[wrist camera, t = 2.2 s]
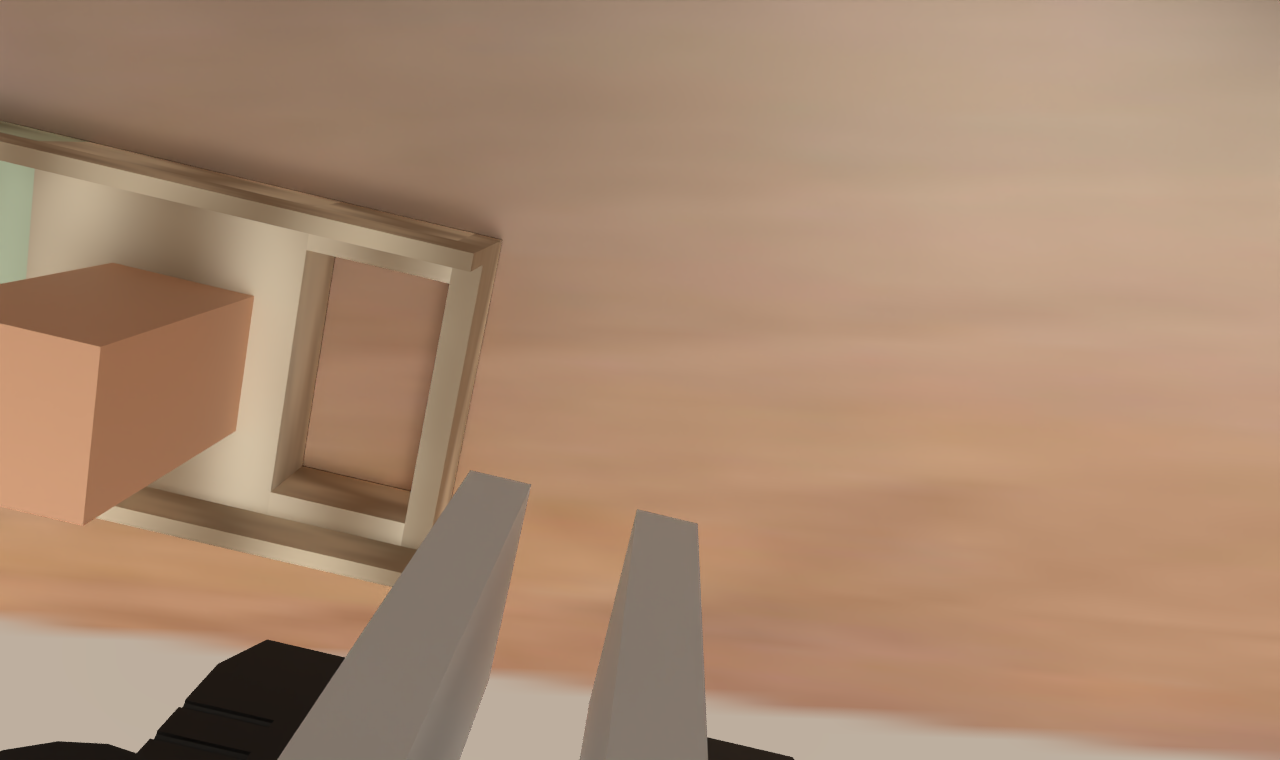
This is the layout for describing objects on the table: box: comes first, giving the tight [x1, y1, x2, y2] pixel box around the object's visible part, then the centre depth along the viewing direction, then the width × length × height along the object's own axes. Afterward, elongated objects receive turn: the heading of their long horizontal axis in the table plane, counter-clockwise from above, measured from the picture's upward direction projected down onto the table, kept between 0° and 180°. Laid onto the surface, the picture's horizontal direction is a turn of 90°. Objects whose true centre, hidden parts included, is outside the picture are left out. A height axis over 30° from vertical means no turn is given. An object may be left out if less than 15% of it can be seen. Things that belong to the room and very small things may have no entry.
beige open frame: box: [0, 121, 502, 587], centre depth 34 cm, size 30×12×5 cm, turn 77°
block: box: [0, 263, 254, 526], centre depth 29 cm, size 5×5×9 cm
